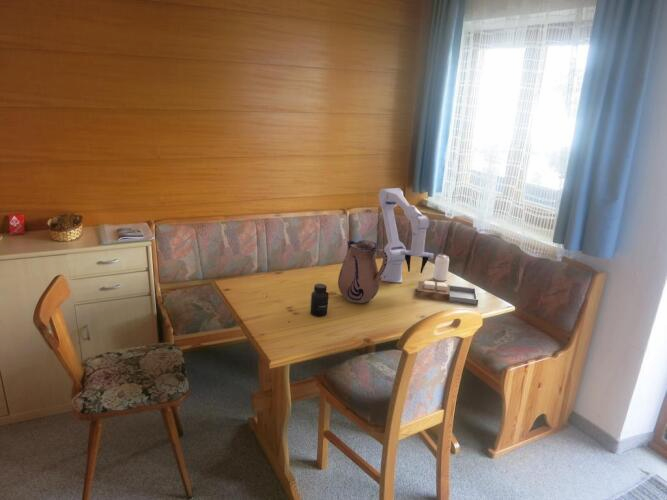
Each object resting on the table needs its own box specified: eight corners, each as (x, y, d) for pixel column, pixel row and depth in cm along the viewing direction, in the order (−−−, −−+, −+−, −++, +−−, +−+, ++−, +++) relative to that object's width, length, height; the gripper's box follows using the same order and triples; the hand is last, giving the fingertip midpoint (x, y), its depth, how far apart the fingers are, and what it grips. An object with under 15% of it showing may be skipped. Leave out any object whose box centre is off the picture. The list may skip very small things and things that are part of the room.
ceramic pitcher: (347, 288, 219) (350, 235, 212) (391, 298, 211) (396, 243, 203) (330, 301, 204) (333, 245, 197) (376, 313, 196) (381, 254, 188)
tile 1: (424, 288, 217) (424, 283, 216) (424, 284, 221) (424, 280, 220) (434, 289, 216) (434, 285, 215) (434, 285, 220) (434, 281, 219)
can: (447, 281, 235) (450, 258, 231) (434, 280, 235) (437, 257, 231) (445, 276, 241) (448, 254, 237) (432, 276, 241) (435, 253, 238)
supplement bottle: (321, 319, 188) (322, 290, 184) (306, 314, 191) (308, 286, 188) (330, 313, 193) (332, 285, 190) (316, 308, 197) (317, 281, 193)
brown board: (416, 296, 215) (417, 290, 214) (418, 287, 226) (418, 281, 225) (449, 300, 212) (449, 294, 211) (448, 290, 223) (449, 284, 222)
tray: (449, 301, 211) (449, 296, 210) (448, 290, 224) (449, 285, 223) (477, 305, 209) (478, 299, 208) (475, 293, 222) (476, 288, 221)
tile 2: (436, 289, 216) (437, 285, 215) (436, 286, 220) (437, 282, 219) (446, 290, 215) (447, 286, 214) (446, 287, 219) (447, 283, 218)
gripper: (400, 243, 211) (398, 272, 215) (434, 247, 209) (431, 276, 213) (402, 239, 218) (399, 267, 222) (434, 242, 215) (431, 271, 219)
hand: (415, 271), depth 218 cm, fingers open, 5 cm apart
